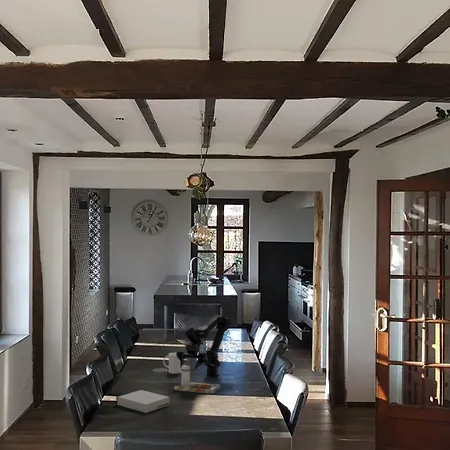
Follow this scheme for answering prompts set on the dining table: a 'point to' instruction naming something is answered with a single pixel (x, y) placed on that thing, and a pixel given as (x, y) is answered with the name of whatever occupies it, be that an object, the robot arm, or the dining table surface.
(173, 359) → the mug
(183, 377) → the grey capped post
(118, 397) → the disc drive
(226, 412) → the dining table surface
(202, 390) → the beige u-shaped frame
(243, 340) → the dining table surface
